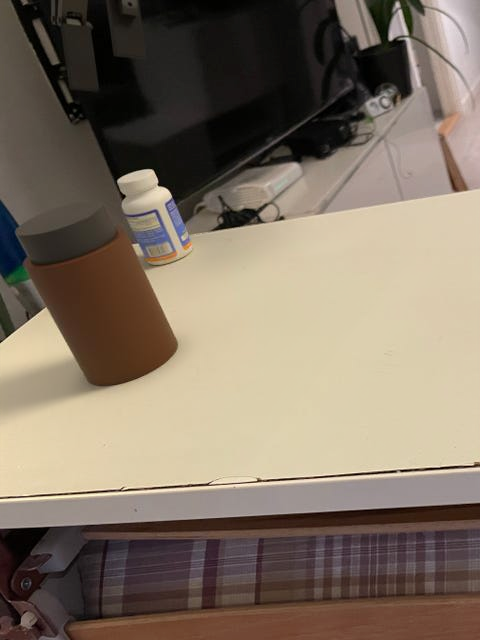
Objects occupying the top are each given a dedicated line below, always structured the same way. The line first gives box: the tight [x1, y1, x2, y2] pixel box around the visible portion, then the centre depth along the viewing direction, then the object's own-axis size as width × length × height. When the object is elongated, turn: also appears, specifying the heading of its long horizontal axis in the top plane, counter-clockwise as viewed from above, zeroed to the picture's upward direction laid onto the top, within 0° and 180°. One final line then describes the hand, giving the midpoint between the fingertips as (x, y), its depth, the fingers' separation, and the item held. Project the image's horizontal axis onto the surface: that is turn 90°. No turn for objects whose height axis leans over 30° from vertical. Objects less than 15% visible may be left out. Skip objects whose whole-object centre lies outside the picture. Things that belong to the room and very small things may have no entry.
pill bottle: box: [116, 168, 194, 266], centre depth 87 cm, size 5×5×10 cm
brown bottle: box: [14, 199, 179, 387], centre depth 64 cm, size 8×8×14 cm
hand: (106, 74), depth 77 cm, fingers open, 13 cm apart
